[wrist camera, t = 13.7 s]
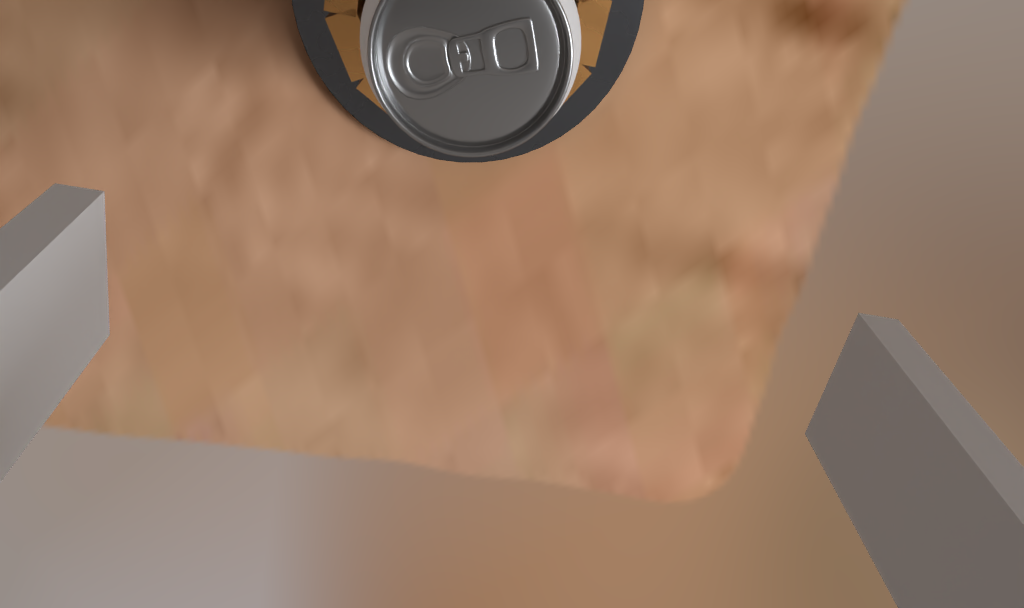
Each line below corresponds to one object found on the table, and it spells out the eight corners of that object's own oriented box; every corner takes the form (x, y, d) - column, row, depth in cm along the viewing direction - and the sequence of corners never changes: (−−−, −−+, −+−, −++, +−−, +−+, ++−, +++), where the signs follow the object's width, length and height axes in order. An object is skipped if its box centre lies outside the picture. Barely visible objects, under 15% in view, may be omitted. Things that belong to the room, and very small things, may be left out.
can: (372, -84, 32) (323, -47, 22) (541, -114, 32) (573, -92, 22) (409, 85, 35) (381, 188, 25) (563, 58, 35) (601, 152, 25)
